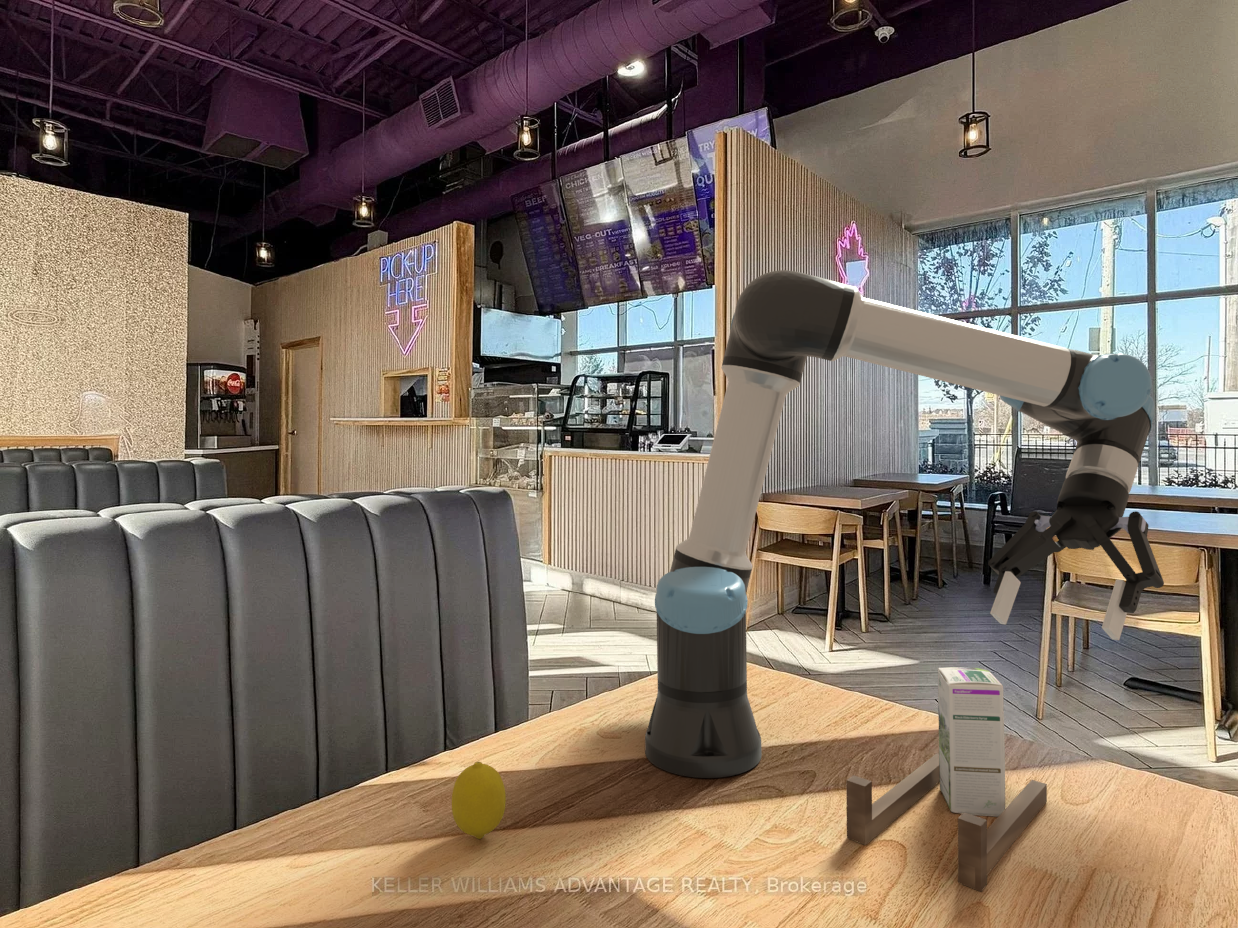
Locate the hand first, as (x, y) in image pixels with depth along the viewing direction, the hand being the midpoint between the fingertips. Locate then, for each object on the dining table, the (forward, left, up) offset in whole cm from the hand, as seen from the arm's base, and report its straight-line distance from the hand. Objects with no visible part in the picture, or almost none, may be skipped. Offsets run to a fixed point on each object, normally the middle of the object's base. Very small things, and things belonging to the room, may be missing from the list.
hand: (1050, 626), depth 90 cm
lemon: (-38, -59, -17) cm, 72 cm away
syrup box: (-4, -17, -17) cm, 24 cm away
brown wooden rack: (-4, -22, -17) cm, 28 cm away
